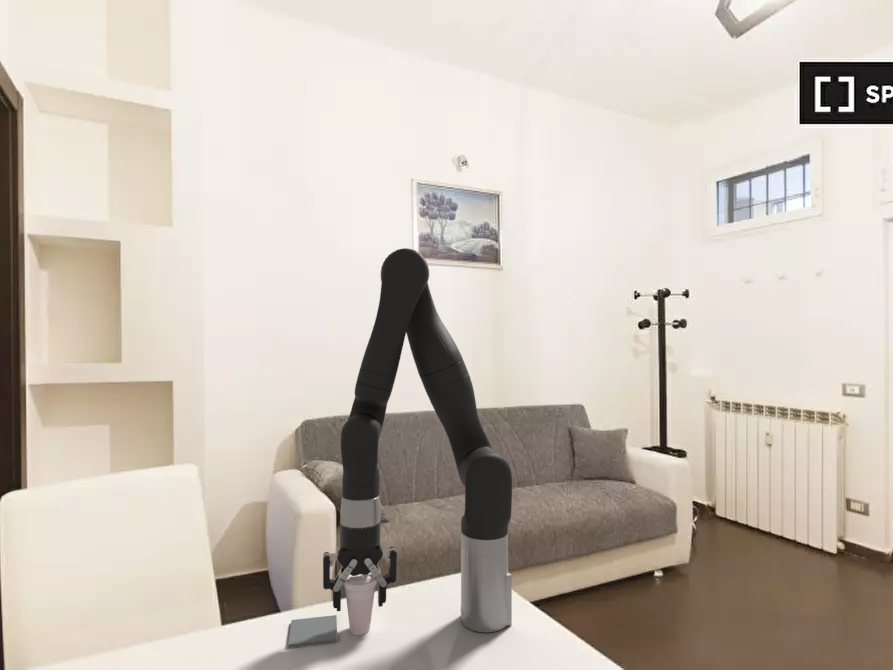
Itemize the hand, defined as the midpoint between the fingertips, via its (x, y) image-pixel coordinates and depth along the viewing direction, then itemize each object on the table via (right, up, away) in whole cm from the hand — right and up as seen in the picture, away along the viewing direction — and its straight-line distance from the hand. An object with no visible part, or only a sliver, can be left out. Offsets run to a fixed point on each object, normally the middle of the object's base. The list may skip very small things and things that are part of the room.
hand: (359, 606), depth 97 cm
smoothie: (0, -4, 0) cm, 4 cm away
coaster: (-8, -4, -1) cm, 10 cm away
